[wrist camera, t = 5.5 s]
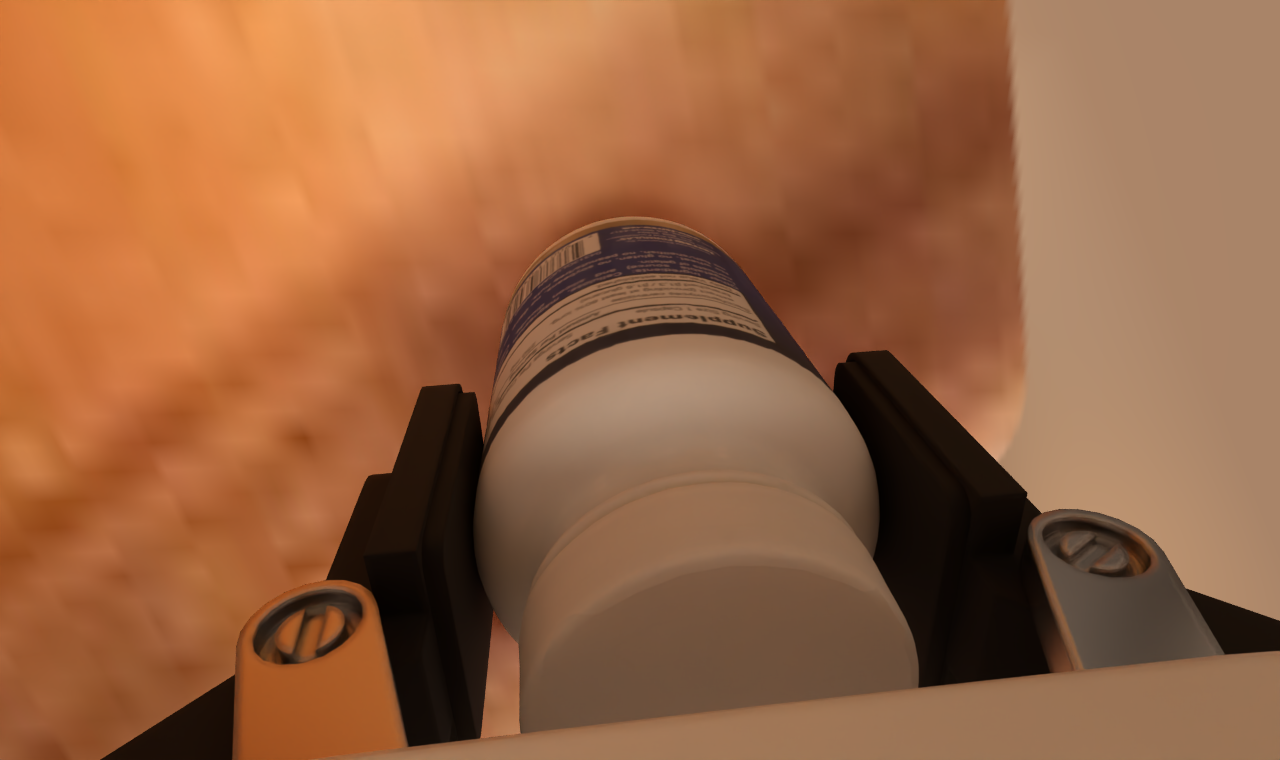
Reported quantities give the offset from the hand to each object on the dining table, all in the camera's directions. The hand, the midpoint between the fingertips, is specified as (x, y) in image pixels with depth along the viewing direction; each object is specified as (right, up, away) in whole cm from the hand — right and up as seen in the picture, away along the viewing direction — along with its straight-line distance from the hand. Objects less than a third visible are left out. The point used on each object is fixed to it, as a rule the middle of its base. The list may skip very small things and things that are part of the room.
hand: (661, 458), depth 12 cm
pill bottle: (-1, +2, +5) cm, 5 cm away
